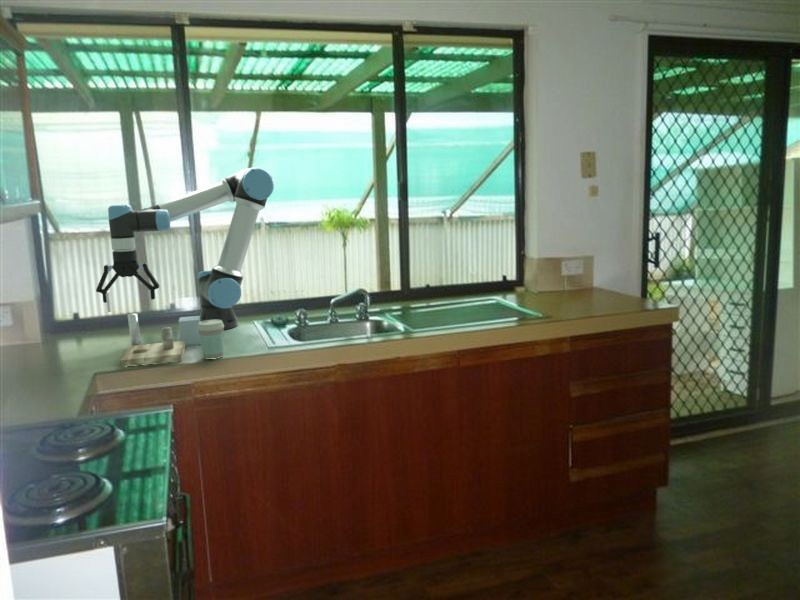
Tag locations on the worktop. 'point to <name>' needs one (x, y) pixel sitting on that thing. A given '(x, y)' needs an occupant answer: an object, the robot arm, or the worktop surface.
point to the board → (155, 351)
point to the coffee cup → (211, 337)
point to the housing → (189, 330)
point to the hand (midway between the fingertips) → (130, 310)
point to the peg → (134, 329)
